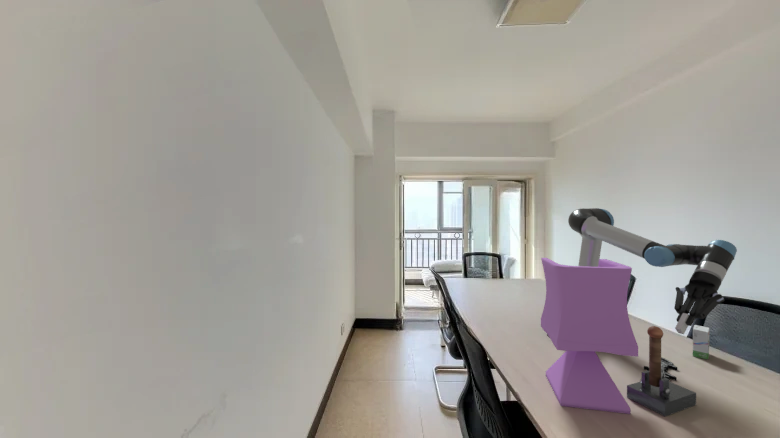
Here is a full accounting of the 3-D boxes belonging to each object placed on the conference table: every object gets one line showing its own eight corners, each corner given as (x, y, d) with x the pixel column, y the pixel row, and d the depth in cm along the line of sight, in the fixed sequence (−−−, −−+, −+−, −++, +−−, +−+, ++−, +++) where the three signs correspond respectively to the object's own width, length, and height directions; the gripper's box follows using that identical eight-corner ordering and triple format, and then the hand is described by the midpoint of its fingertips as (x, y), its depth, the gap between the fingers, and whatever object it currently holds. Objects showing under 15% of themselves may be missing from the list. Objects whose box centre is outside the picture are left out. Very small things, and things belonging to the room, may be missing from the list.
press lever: (666, 386, 103) (666, 327, 102) (658, 389, 101) (658, 329, 101) (652, 380, 106) (652, 323, 106) (644, 382, 105) (644, 325, 105)
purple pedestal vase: (606, 380, 118) (606, 258, 118) (638, 417, 97) (638, 269, 96) (540, 373, 123) (540, 257, 123) (557, 407, 102) (557, 266, 101)
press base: (696, 405, 103) (696, 377, 103) (664, 416, 97) (665, 387, 97) (657, 387, 113) (657, 362, 113) (626, 397, 107) (626, 370, 107)
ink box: (708, 360, 134) (708, 332, 134) (692, 356, 138) (692, 329, 138) (709, 353, 140) (709, 327, 140) (693, 350, 144) (694, 324, 143)
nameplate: (645, 353, 138) (677, 360, 131) (645, 357, 138) (677, 364, 131) (641, 378, 117) (678, 388, 111) (641, 382, 117) (678, 392, 111)
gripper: (736, 288, 108) (709, 345, 102) (689, 281, 120) (661, 331, 114) (728, 273, 106) (699, 330, 100) (680, 267, 118) (652, 318, 112)
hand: (679, 331), depth 107 cm, fingers closed
